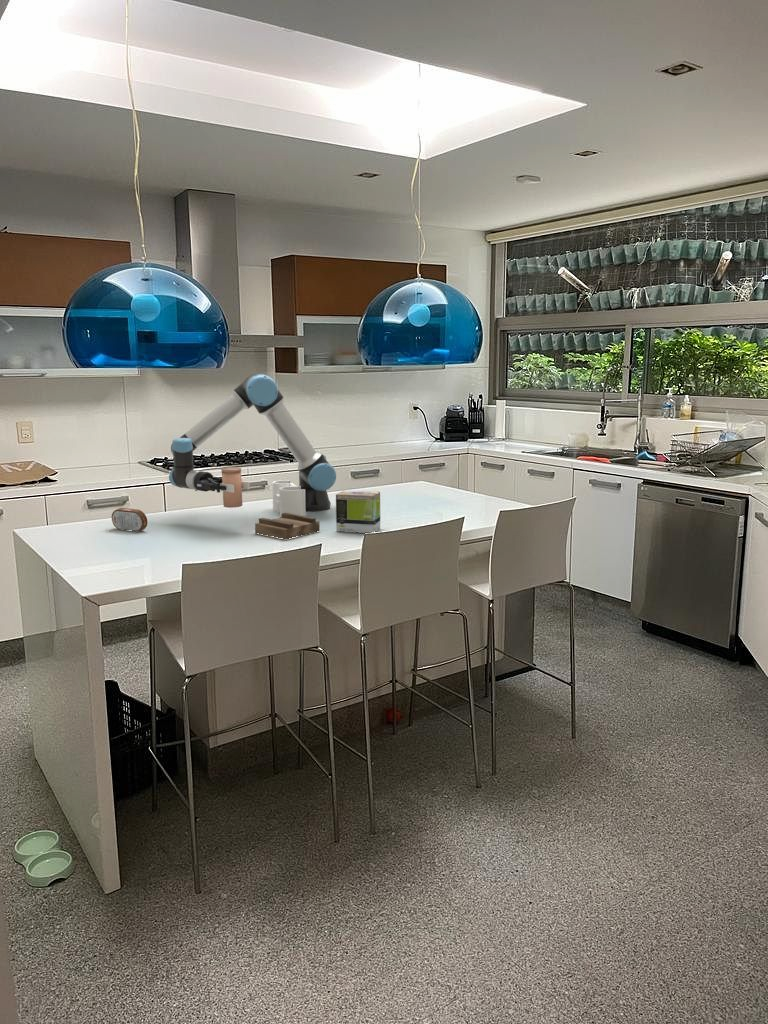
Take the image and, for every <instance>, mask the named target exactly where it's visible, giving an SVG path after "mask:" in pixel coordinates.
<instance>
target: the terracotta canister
mask: <svg viewBox="0 0 768 1024" xmlns="http://www.w3.org/2000/svg"><path fill="white" fill-rule="evenodd" d="M221 478H222V483H224V484H231V485H234V492H233V493H232V492H226V491H222V505H223V507H224V508H233V509H234V508H240V507H242V506H243V492H242V491H243V489H242V483H241V479H242V467H239V466H237V467H236V466H235V467H234V466H231V467H228V466H227V467H223V468H221Z"/></svg>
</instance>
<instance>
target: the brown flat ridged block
mask: <svg viewBox="0 0 768 1024" xmlns="http://www.w3.org/2000/svg"><path fill="white" fill-rule="evenodd" d="M320 525H321V524H320V521H319V520H317V518H316V517H310V516H301V515H295V514H290V513H282V517H281V518H280V517H278V518H273V519H270V518H266V517H261V518H258V522H255V523H254V533H259V534H263V535H268V536H274V537H278V538H283V539H289V538H292V537H296V536H301V535H305V534H308V535H310V534H309V533H312V534H315V533H314V532H316V533H318V532H317V531H320V529H321V528H320ZM263 535H262V536H263ZM305 536H306V535H305ZM301 537H302V536H301Z"/></svg>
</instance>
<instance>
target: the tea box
mask: <svg viewBox="0 0 768 1024" xmlns="http://www.w3.org/2000/svg"><path fill="white" fill-rule="evenodd" d="M335 515H336V516H335V522H336V523H335V524H336V525H335V527H336V532H339V531H345V532H344V533H356V532H358V533H357V534H359V533H361V534H366V533H365V532H374V531H378V532H379V530H380V529H381V491H369V490H345V489H344V490H341V491H339V492H338V493H336V494H335Z"/></svg>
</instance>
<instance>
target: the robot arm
mask: <svg viewBox="0 0 768 1024" xmlns="http://www.w3.org/2000/svg"><path fill="white" fill-rule="evenodd" d="M284 400H285V399H284V396H283V394H282V393H281V391H280V390H279V389H278V385H277V383H276V381H275V380H274V379H273V378H272V377H270V376H269V375H266V374H263V373H253V374H250V375H248V376H247V377H246V378H245V379H244V380H243V381H242V382H241V383H240V384H239V385H238V386H237V387H235V388H234V389H233V390H232V394H230V396H229V397H228V398H226V399H225V400H223V402H222V403H220V404H219V405H217V407H215V408H214V409H212V411H210V412H209V413H208V414H207V415H206V416H204V417H203V418H202V419H200V420H199V421H198V422H197V423H196V424H195V425H193V426H191V427H190V428H189V429H188V430H187V431H186V432H185V433H184V434H183V435H181V436H180V437H178V438H177V437H176V438H173V440H172V442H171V444H170V452H171V454H172V458H173V468H172V469H171V470H170V472H169V475H168V480H169V481H168V482H170V484H171V485H172V486H174V487H177V488H181V489H188V490H194V491H195V492H198V491H200V492H209V491H212V492H215V491H216V493H221V492H223V491H226V492H232V493H233V492H234V485H231V484H224V483H222V477H218V476H214V475H213V474H212V473H211V472H208V471H201V470H196V469H194V468H195V467H194V451H195V450H197V448H199V447H200V446H201V445H202V444H204V443H205V442H206V441H207V440H208V439H211V437H212V436H213V435H215V433H217V432H218V431H220V429H222V428H223V427H225V426H226V425H227V424H228V423H229V422H230V421H232V420H233V419H234V418H235V417H237V416H238V415H240V413H241V412H243V411H244V410H249V409H250V408H251V407H253V406H254V408H255V409H256V411H257V413H259V415H264V416H265V417H266V418H267V420H268V422H269V423H270V424H271V426H272V428H273V429H274V430H275V432H276V433H277V435H279V437H280V438H281V440H282V442H283V443H284V444H285V445H286V447H287V448H288V450H289V451H290V453H291V455H292V456H293V457H294V459H295V460H296V461H297V466H298V467H297V470H298V484H299V485H298V486H301V489H305V512H306V511H307V512H320V511H325V510H326V511H327V510H329V509H331V508H330V507H331V506H332V505H331V504H332V503H331V500H330V497H329V494H328V492H327V491H328V490H329V489H331V488H332V487H333V486H334V485H335V483H336V480H337V472H336V470H335V468H334V466H333V465H331V464H330V463H329V462H328V460H327V457H326V455H325V454H323V453H322V452H321V451H317V450H316V449H315V448H314V446H313V445H312V444H311V442H310V440H309V439H308V438H307V436H306V434H305V433H304V432H303V430H302V429H301V427H300V425H298V423H297V421H296V420H295V419H294V417H293V415H292V414H291V413H290V411H289V410H288V408H287V407H286V405H285V404H284ZM241 483H242V490H250V489H251V488H250V487H251V486H250V484H251V483H250V481H246V480H245V481H244V480H243V479H242V478H241Z"/></svg>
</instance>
